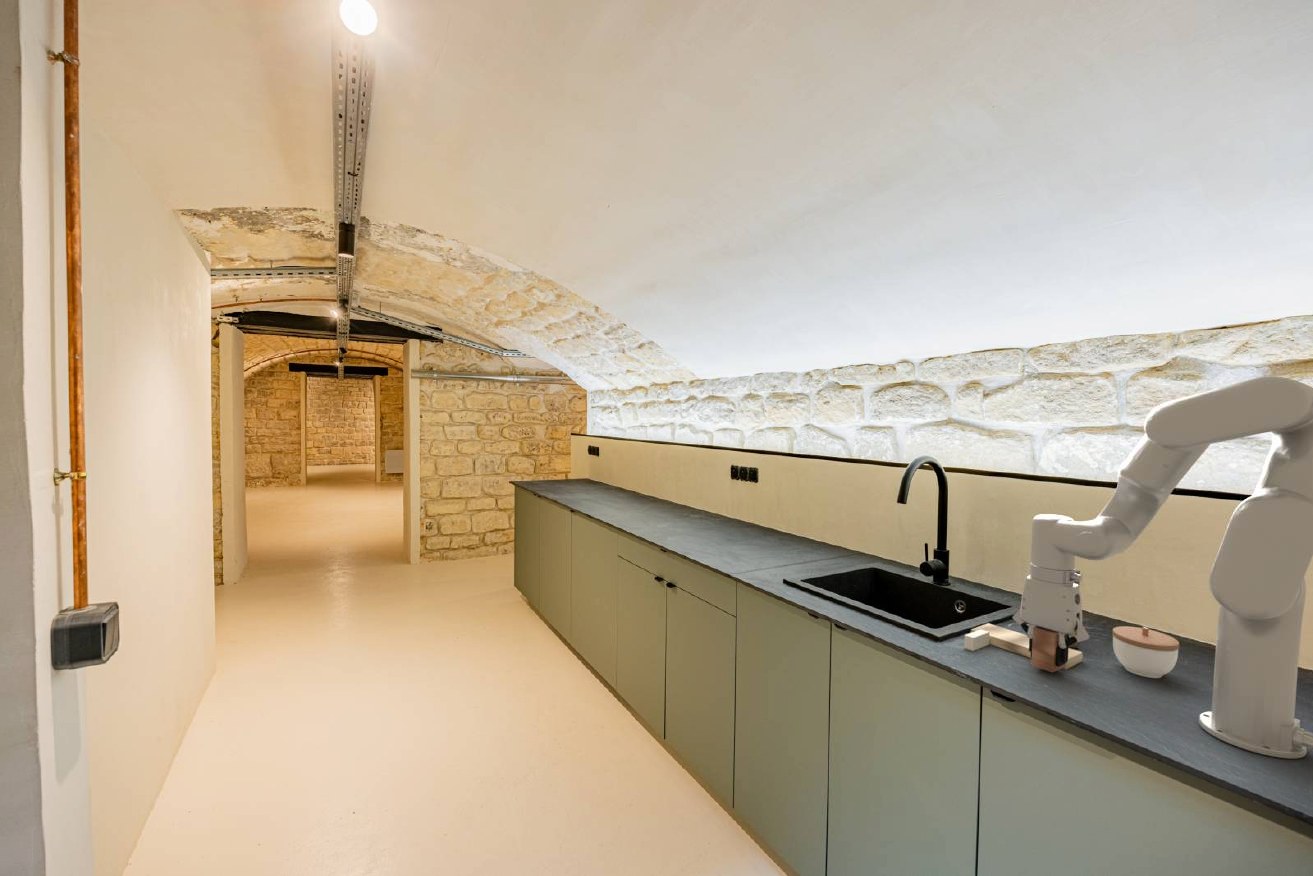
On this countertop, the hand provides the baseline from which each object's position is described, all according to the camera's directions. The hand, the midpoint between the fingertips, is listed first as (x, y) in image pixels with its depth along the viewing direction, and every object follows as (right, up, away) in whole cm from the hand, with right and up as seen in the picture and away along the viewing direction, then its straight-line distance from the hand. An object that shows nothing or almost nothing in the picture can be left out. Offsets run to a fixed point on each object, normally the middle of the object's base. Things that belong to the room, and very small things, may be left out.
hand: (1047, 659), depth 120 cm
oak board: (+2, -2, +11) cm, 12 cm away
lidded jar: (+21, -3, +1) cm, 21 cm away
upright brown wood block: (+4, -1, +3) cm, 5 cm away
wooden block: (+15, -2, +18) cm, 23 cm away
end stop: (-8, -2, +12) cm, 15 cm away
